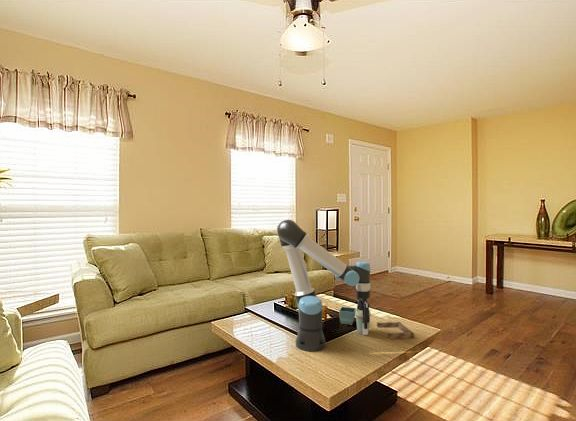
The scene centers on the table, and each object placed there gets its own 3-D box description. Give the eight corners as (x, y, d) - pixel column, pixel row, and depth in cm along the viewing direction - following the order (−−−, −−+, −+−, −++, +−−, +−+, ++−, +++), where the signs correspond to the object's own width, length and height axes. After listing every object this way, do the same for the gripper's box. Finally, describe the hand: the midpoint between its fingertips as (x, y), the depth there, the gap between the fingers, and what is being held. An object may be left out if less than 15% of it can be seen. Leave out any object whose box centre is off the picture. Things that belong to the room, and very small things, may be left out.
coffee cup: (369, 330, 181) (369, 308, 181) (372, 336, 172) (372, 313, 172) (354, 329, 181) (354, 308, 182) (355, 335, 173) (355, 313, 173)
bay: (388, 338, 169) (388, 333, 169) (376, 326, 187) (376, 322, 187) (413, 338, 170) (413, 333, 170) (399, 326, 188) (399, 321, 188)
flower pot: (356, 322, 193) (356, 308, 193) (354, 327, 185) (354, 312, 185) (341, 321, 196) (341, 306, 196) (338, 326, 188) (338, 310, 188)
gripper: (376, 294, 167) (376, 338, 167) (363, 285, 188) (363, 325, 187) (362, 294, 167) (361, 338, 166) (351, 286, 187) (351, 325, 187)
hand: (362, 331), depth 177 cm, fingers closed on coffee cup, 7 cm apart
